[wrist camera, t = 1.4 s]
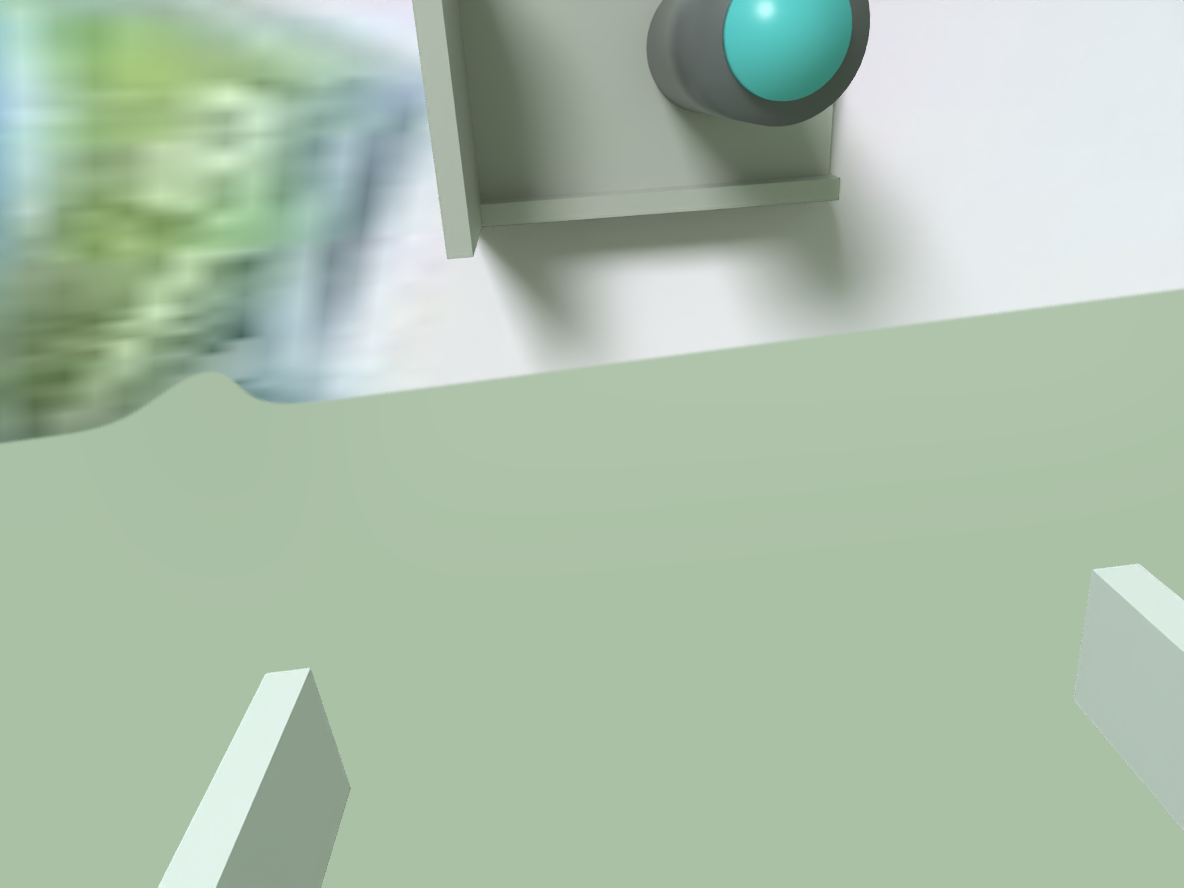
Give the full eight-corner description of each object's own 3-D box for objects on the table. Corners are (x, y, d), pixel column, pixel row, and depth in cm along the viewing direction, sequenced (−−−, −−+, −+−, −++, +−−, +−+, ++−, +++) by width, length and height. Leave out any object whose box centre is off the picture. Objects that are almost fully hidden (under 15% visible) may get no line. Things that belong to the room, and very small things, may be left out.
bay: (464, 218, 41) (447, 259, 32) (426, -88, 35) (392, -146, 26) (818, 191, 41) (900, 224, 32) (834, -112, 36) (938, -176, 27)
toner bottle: (648, 116, 38) (701, 133, 26) (644, -21, 36) (700, -68, 24) (766, 108, 38) (869, 121, 27) (769, -29, 36) (884, -79, 24)
